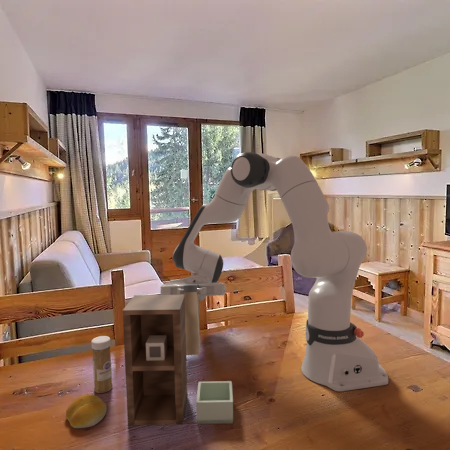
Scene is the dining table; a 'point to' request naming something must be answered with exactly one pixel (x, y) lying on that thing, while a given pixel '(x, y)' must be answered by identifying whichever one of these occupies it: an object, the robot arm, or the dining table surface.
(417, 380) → the dining table surface
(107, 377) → the sprinkles bottle
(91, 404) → the bread roll
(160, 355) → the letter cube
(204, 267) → the robot arm
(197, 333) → the birch bar
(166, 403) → the walnut shelf
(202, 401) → the green box
